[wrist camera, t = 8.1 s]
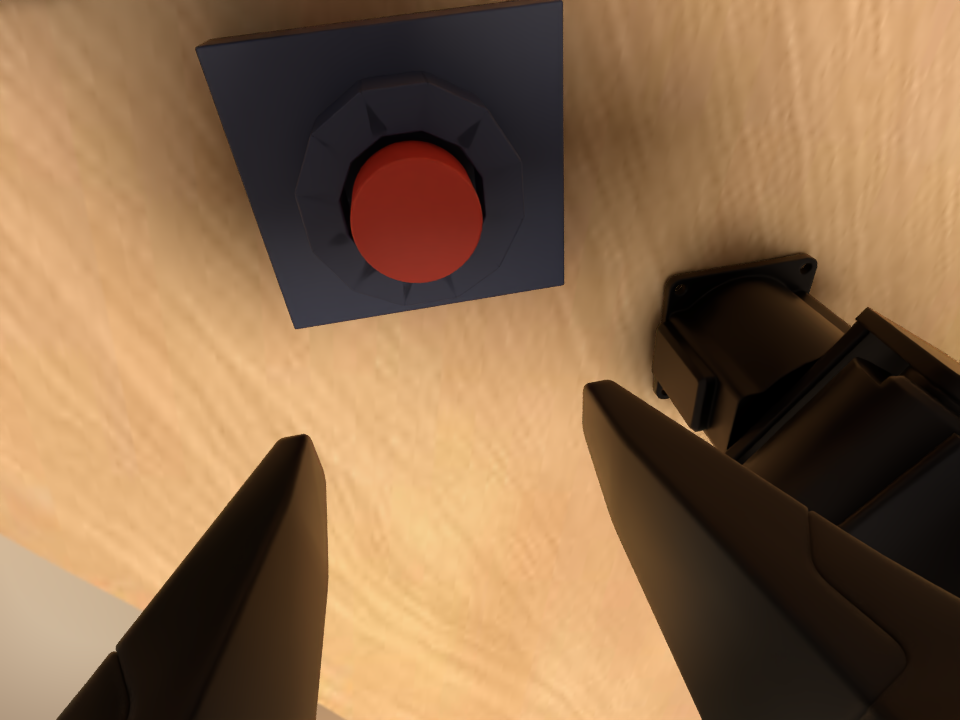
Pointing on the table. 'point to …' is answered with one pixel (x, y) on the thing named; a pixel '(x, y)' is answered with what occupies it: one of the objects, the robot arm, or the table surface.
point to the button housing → (394, 118)
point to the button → (415, 212)
